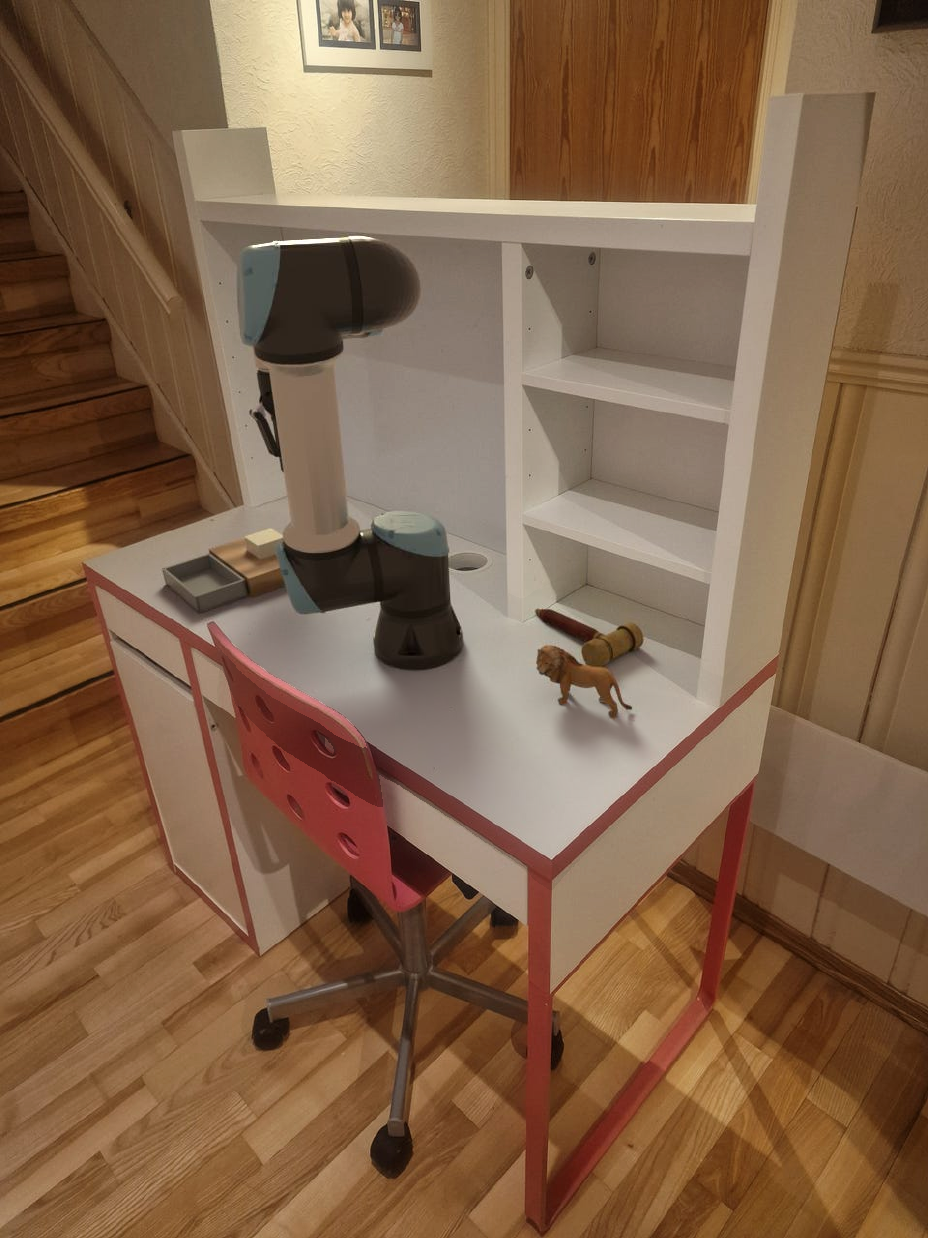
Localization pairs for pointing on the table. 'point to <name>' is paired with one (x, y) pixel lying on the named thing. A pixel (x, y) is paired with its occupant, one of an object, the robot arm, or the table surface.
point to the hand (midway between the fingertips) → (294, 486)
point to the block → (263, 543)
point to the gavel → (596, 637)
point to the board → (250, 567)
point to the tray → (205, 582)
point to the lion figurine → (577, 676)
